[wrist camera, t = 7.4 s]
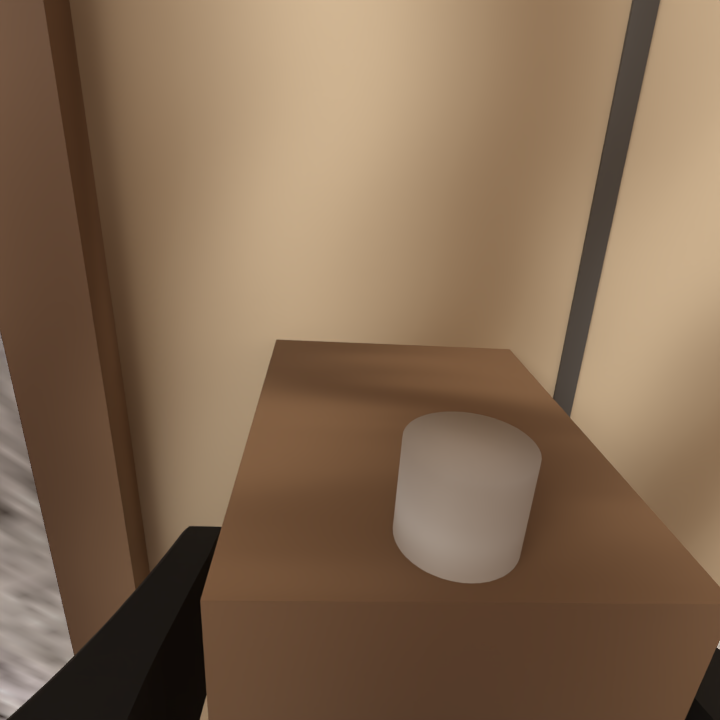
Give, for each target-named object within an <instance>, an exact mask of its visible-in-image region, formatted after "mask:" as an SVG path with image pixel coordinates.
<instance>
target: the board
mask: <svg viewBox="0 0 720 720" xmlns="http://www.w3.org/2000/svg"><path fill="white" fill-rule="evenodd" d="M0 332H1V336H2V341H3V345H4V349H5V354H6V358H7V363H8V367H9V371H10V376H11V380H12V384H13V389H14V393H15V398H16V402H17V406H18V411H19V415H20V420H21V424H22V428H23V433H24V437H25V441H26V446H27V450H28V455H29V459H30V463H31V468H32V472H33V477H34V481H35V485H36V490H37V494H38V498H39V503H40V507H41V512H42V516H43V520H44V525H45V529H46V534H47V538H48V542H49V547H50V551H51V555H52V560H53V564H54V569H55V573H56V577H57V582H58V586H59V591H60V595H61V599H62V604H63V608H64V612H65V617H66V621H67V626H68V630H69V634H70V639H71V643H72V648H73V652H74V656H75V654H76V653H77V652H78V651H79V650H80V649H81V648H82V647H83V646H84V645H85V644H86V643H87V642H88V641H89V640H90V639H91V638H92V637H93V636H94V635H95V634H96V633H97V632H98V631H99V630H100V629H101V628H102V627H103V625H104V624H105V623H106V622H107V621H108V620H109V619H110V618H111V617H112V616H113V615H114V614H115V612H116V611H117V610H118V609H119V608H120V607H121V606H122V604H123V603H124V602H125V601H126V600H127V599H128V598H129V597H130V595H131V594H132V593H133V592H134V591H135V590H136V589H137V587H138V586H139V585H140V584H141V583H142V582H143V581H144V579H145V578H146V577H147V576H148V575H149V573H150V572H151V571H152V570H153V569H154V567H155V566H156V565H157V564H158V563H159V561H160V560H161V559H162V558H163V556H164V555H165V554H166V553H167V551H168V550H169V549H170V548H171V546H172V545H173V544H174V542H175V541H176V540H177V539H178V537H179V536H180V535H181V533H182V532H183V531H184V530H185V529H186V528H188V527H189V526H215V527H222V524H223V521H224V517H225V514H226V510H227V507H228V504H229V500H230V497H231V493H232V490H233V486H234V483H235V480H236V476H237V473H238V469H239V466H240V462H241V459H242V456H243V452H244V449H245V445H246V442H247V438H248V435H249V431H250V428H251V425H252V421H253V418H254V414H255V411H256V407H257V404H258V401H259V397H260V394H261V390H262V387H263V383H264V380H265V377H266V373H267V370H268V366H269V363H270V359H271V356H272V353H273V349H274V346H275V342H276V339H277V340H301V341H325V342H349V343H373V344H397V345H421V346H445V347H469V348H492V349H510V350H511V351H512V353H513V354H514V355H515V356H516V357H517V358H518V359H519V360H520V362H521V363H522V364H523V365H524V366H525V367H526V368H527V369H528V371H529V372H530V373H531V374H532V375H533V376H534V377H535V379H536V380H537V381H538V382H539V383H540V384H541V385H542V386H543V388H544V389H545V390H546V391H547V392H548V393H549V394H550V395H551V397H552V398H553V399H554V400H555V401H556V402H557V403H558V405H559V406H560V407H561V408H562V409H563V410H564V411H565V412H566V414H567V415H568V416H569V417H570V418H571V419H572V420H573V421H574V423H575V424H576V425H577V426H578V427H579V428H580V429H581V431H582V432H583V433H584V434H585V435H586V436H587V437H588V438H589V440H590V441H591V442H592V443H593V444H594V445H595V446H596V447H597V449H598V450H599V451H600V452H601V453H602V454H603V455H604V457H605V458H606V459H607V460H608V461H609V462H610V463H611V464H612V466H613V467H614V468H615V469H616V470H617V471H618V472H619V473H620V475H621V476H622V477H623V478H624V479H625V480H626V481H627V483H628V484H629V485H630V486H631V487H632V488H633V489H634V490H635V492H636V493H637V494H638V495H639V496H640V497H641V498H642V499H643V501H644V502H645V503H646V504H647V505H648V506H649V507H650V509H651V510H652V511H653V512H654V513H655V514H656V515H657V516H658V518H659V519H660V520H661V521H662V522H663V523H664V524H665V525H666V527H667V528H668V529H669V530H670V531H671V532H672V533H673V534H674V536H675V537H676V538H677V539H678V540H679V541H680V542H681V544H682V545H683V546H684V547H685V548H686V549H687V550H688V551H689V553H690V554H691V555H692V556H693V557H694V558H695V559H696V560H697V562H698V563H699V564H700V565H701V566H702V567H703V568H704V570H705V571H706V572H707V573H708V574H709V575H710V576H711V577H712V579H713V580H714V581H715V582H716V583H717V584H718V585H719V586H720V0H0ZM200 720H208V707H207V696H206V699H205V703H204V706H203V710H202V713H201V717H200Z"/></svg>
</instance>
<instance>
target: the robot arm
mask: <svg viewBox="0 0 720 720" xmlns="http://www.w3.org/2000/svg"><path fill="white" fill-rule="evenodd" d="M221 528H222V527H215V526H189V527H188V528H186V529H185V530H184V531H183V532H182V533H181V535H180V536H179V537H178V539H177V540H176V541H175V542H174V544H173V545H172V546H171V548H170V549H169V550H168V551H167V553H166V554H165V555H164V556H163V558H162V559H161V560H160V561H159V563H158V564H157V565H156V566H155V567H154V569H153V570H152V571H151V572H150V573H149V575H148V576H147V577H146V578H145V579H144V581H143V582H142V583H141V584H140V585H139V586H138V587H137V589H136V590H135V591H134V592H133V593H132V594H131V595H130V597H129V598H128V599H127V600H126V601H125V602H124V603H123V604H122V606H121V607H120V608H119V609H118V610H117V611H116V612H115V614H114V615H113V616H112V617H111V618H110V619H109V620H108V621H107V622H106V623H105V624H104V625H103V627H102V628H101V629H100V630H99V631H98V632H97V633H96V634H95V635H94V636H93V637H92V638H91V639H90V640H89V641H88V642H87V643H86V644H85V645H84V646H83V647H82V648H81V649H80V650H79V651H78V652H77V653H76V654H75V656H74V657H73V658H72V659H71V660H70V661H69V662H68V663H67V664H66V665H65V666H64V667H63V668H62V669H61V670H60V671H58V672H57V673H56V674H55V675H54V676H53V677H52V678H51V679H50V680H49V681H48V682H47V683H46V684H45V685H44V686H43V687H42V688H41V689H40V690H39V691H38V692H37V693H35V694H34V695H33V696H32V697H31V698H30V699H29V700H28V701H27V702H26V703H25V704H23V705H22V706H21V707H20V708H19V709H18V710H17V711H16V712H15V713H14V714H12V715H11V716H10V717H9V718H8V719H7V720H200V717H201V713H202V710H203V706H204V703H205V699H206V696H207V692H206V678H205V663H204V648H203V633H202V619H201V604H200V600H201V596H202V593H203V589H204V586H205V583H206V579H207V576H208V572H209V569H210V565H211V562H212V558H213V555H214V552H215V548H216V545H217V541H218V538H219V534H220V531H221ZM685 720H720V650H719V649H718V648H717V647H716V650H715V652H714V654H713V656H712V659H711V661H710V663H709V665H708V668H707V670H706V672H705V675H704V677H703V679H702V681H701V684H700V686H699V688H698V691H697V693H696V695H695V697H694V700H693V702H692V704H691V706H690V709H689V711H688V713H687V716H686V718H685Z"/></svg>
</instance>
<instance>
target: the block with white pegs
mask: <svg viewBox="0 0 720 720" xmlns="http://www.w3.org/2000/svg"><path fill="white" fill-rule="evenodd" d="M200 604H201V619H202V633H203V648H204V663H205V678H206V692H207V707H208V720H685V718H686V716H687V713H688V711H689V709H690V706H691V704H692V702H693V700H694V697H695V695H696V693H697V691H698V688H699V686H700V684H701V681H702V679H703V677H704V675H705V672H706V670H707V668H708V665H709V663H710V661H711V659H712V656H713V654H714V652H715V650H716V647H717V645H718V643H719V640H720V586H719V585H718V584H717V583H716V582H715V581H714V580H713V579H712V577H711V576H710V575H709V574H708V573H707V572H706V571H705V570H704V568H703V567H702V566H701V565H700V564H699V563H698V562H697V560H696V559H695V558H694V557H693V556H692V555H691V554H690V553H689V551H688V550H687V549H686V548H685V547H684V546H683V545H682V544H681V542H680V541H679V540H678V539H677V538H676V537H675V536H674V534H673V533H672V532H671V531H670V530H669V529H668V528H667V527H666V525H665V524H664V523H663V522H662V521H661V520H660V519H659V518H658V516H657V515H656V514H655V513H654V512H653V511H652V510H651V509H650V507H649V506H648V505H647V504H646V503H645V502H644V501H643V499H642V498H641V497H640V496H639V495H638V494H637V493H636V492H635V490H634V489H633V488H632V487H631V486H630V485H629V484H628V483H627V481H626V480H625V479H624V478H623V477H622V476H621V475H620V473H619V472H618V471H617V470H616V469H615V468H614V467H613V466H612V464H611V463H610V462H609V461H608V460H607V459H606V458H605V457H604V455H603V454H602V453H601V452H600V451H599V450H598V449H597V447H596V446H595V445H594V444H593V443H592V442H591V441H590V440H589V438H588V437H587V436H586V435H585V434H584V433H583V432H582V431H581V429H580V428H579V427H578V426H577V425H576V424H575V423H574V421H573V420H572V419H571V418H570V417H569V416H568V415H567V414H566V412H565V411H564V410H563V409H562V408H561V407H560V406H559V405H558V403H557V402H556V401H555V400H554V399H553V398H552V397H551V395H550V394H549V393H548V392H547V391H546V390H545V389H544V388H543V386H542V385H541V384H540V383H539V382H538V381H537V380H536V379H535V377H534V376H533V375H532V374H531V373H530V372H529V371H528V369H527V368H526V367H525V366H524V365H523V364H522V363H521V362H520V360H519V359H518V358H517V357H516V356H515V355H514V354H513V353H512V351H511V350H510V349H492V348H469V347H445V346H421V345H397V344H373V343H349V342H325V341H301V340H277V339H276V342H275V346H274V349H273V353H272V356H271V359H270V363H269V366H268V370H267V373H266V377H265V380H264V383H263V387H262V390H261V394H260V397H259V401H258V404H257V407H256V411H255V414H254V418H253V421H252V425H251V428H250V431H249V435H248V438H247V442H246V445H245V449H244V452H243V456H242V459H241V462H240V466H239V469H238V473H237V476H236V480H235V483H234V486H233V490H232V493H231V497H230V500H229V504H228V507H227V510H226V514H225V517H224V521H223V524H222V528H221V531H220V534H219V538H218V541H217V545H216V548H215V552H214V555H213V558H212V562H211V565H210V569H209V572H208V576H207V579H206V583H205V586H204V589H203V593H202V596H201V600H200Z"/></svg>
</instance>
